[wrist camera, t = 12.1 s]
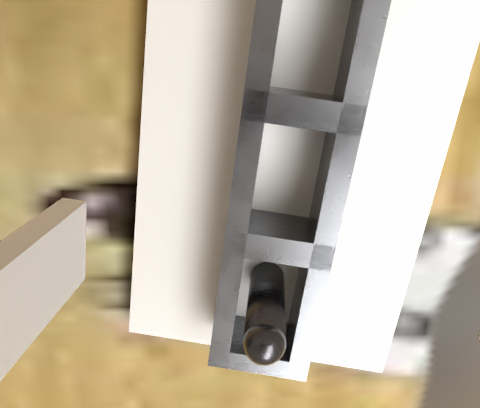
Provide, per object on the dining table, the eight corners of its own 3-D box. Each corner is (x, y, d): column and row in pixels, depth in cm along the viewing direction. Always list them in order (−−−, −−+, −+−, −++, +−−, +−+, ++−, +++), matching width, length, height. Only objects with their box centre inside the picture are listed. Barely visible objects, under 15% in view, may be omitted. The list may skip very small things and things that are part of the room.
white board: (376, 354, 33) (382, 372, 31) (137, 315, 33) (128, 331, 31) (499, -81, 23) (518, -92, 22) (165, -124, 24) (155, -139, 22)
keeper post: (281, 294, 29) (282, 378, 22) (248, 288, 30) (238, 371, 22) (286, 264, 29) (289, 341, 21) (253, 259, 29) (244, 333, 21)
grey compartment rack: (302, 340, 30) (305, 381, 27) (216, 327, 31) (207, 365, 27) (385, -51, 23) (407, -72, 19) (269, -67, 23) (267, -90, 19)
